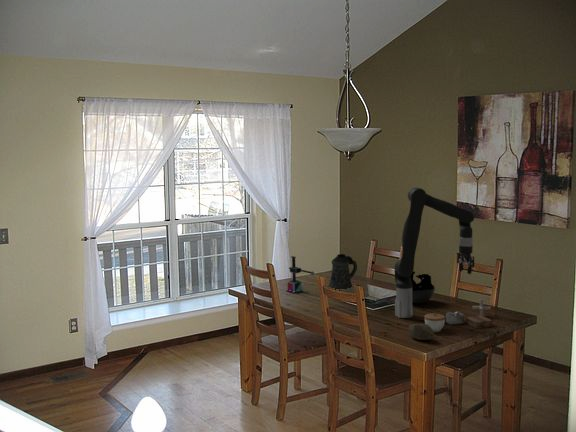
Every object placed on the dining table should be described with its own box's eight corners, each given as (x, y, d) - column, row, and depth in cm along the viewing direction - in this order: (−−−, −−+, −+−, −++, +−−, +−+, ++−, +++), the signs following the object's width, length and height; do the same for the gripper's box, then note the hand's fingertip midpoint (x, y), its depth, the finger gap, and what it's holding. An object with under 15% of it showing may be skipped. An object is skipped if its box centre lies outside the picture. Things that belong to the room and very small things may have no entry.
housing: (450, 324, 349) (450, 314, 348) (446, 322, 353) (446, 311, 353) (463, 323, 351) (463, 312, 350) (459, 320, 356) (459, 310, 355)
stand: (475, 328, 340) (475, 322, 340) (464, 322, 351) (464, 317, 351) (493, 325, 343) (493, 320, 343) (481, 320, 354) (482, 315, 354)
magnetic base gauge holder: (282, 290, 439) (281, 256, 436) (292, 288, 445) (291, 254, 442) (306, 296, 420) (305, 260, 417) (316, 294, 426) (315, 258, 423)
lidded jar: (444, 327, 344) (444, 310, 343) (445, 333, 333) (445, 316, 332) (424, 326, 346) (424, 310, 345) (424, 332, 336) (424, 315, 335)
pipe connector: (490, 314, 365) (490, 297, 364) (490, 319, 356) (490, 301, 355) (472, 313, 368) (472, 296, 367) (471, 318, 359) (471, 300, 358)
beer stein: (323, 291, 434) (322, 255, 431) (342, 285, 447) (341, 251, 444) (341, 294, 422) (340, 258, 419) (360, 289, 435) (359, 253, 432)
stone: (440, 340, 322) (440, 325, 321) (429, 344, 316) (429, 329, 316) (414, 333, 335) (413, 319, 334) (403, 337, 330) (402, 322, 329)
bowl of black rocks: (435, 307, 384) (435, 277, 381) (402, 306, 387) (401, 276, 385) (434, 299, 403) (433, 270, 401) (402, 298, 407) (401, 270, 405)
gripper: (453, 243, 370) (452, 270, 372) (467, 247, 357) (466, 275, 359) (464, 242, 373) (464, 269, 375) (478, 246, 359) (478, 274, 361)
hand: (465, 272), depth 367 cm, fingers open, 8 cm apart
